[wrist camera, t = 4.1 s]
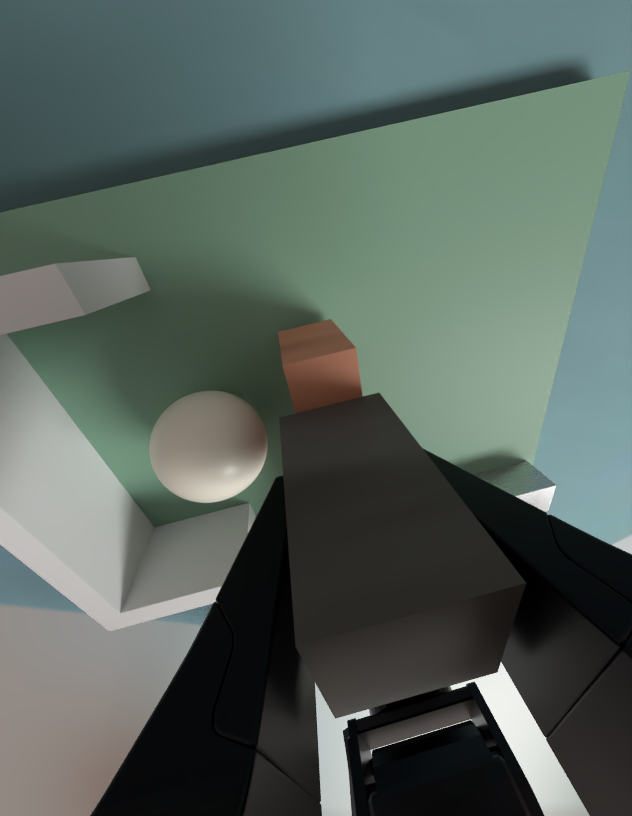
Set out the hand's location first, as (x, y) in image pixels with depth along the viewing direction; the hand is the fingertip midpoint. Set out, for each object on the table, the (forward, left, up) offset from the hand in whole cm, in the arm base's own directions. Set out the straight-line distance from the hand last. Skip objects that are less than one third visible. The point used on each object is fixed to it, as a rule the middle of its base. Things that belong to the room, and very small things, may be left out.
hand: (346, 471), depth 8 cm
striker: (-3, 0, -5) cm, 6 cm away
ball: (0, +4, -3) cm, 5 cm away
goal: (0, +8, -5) cm, 9 cm away
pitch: (-1, 0, -6) cm, 6 cm away
